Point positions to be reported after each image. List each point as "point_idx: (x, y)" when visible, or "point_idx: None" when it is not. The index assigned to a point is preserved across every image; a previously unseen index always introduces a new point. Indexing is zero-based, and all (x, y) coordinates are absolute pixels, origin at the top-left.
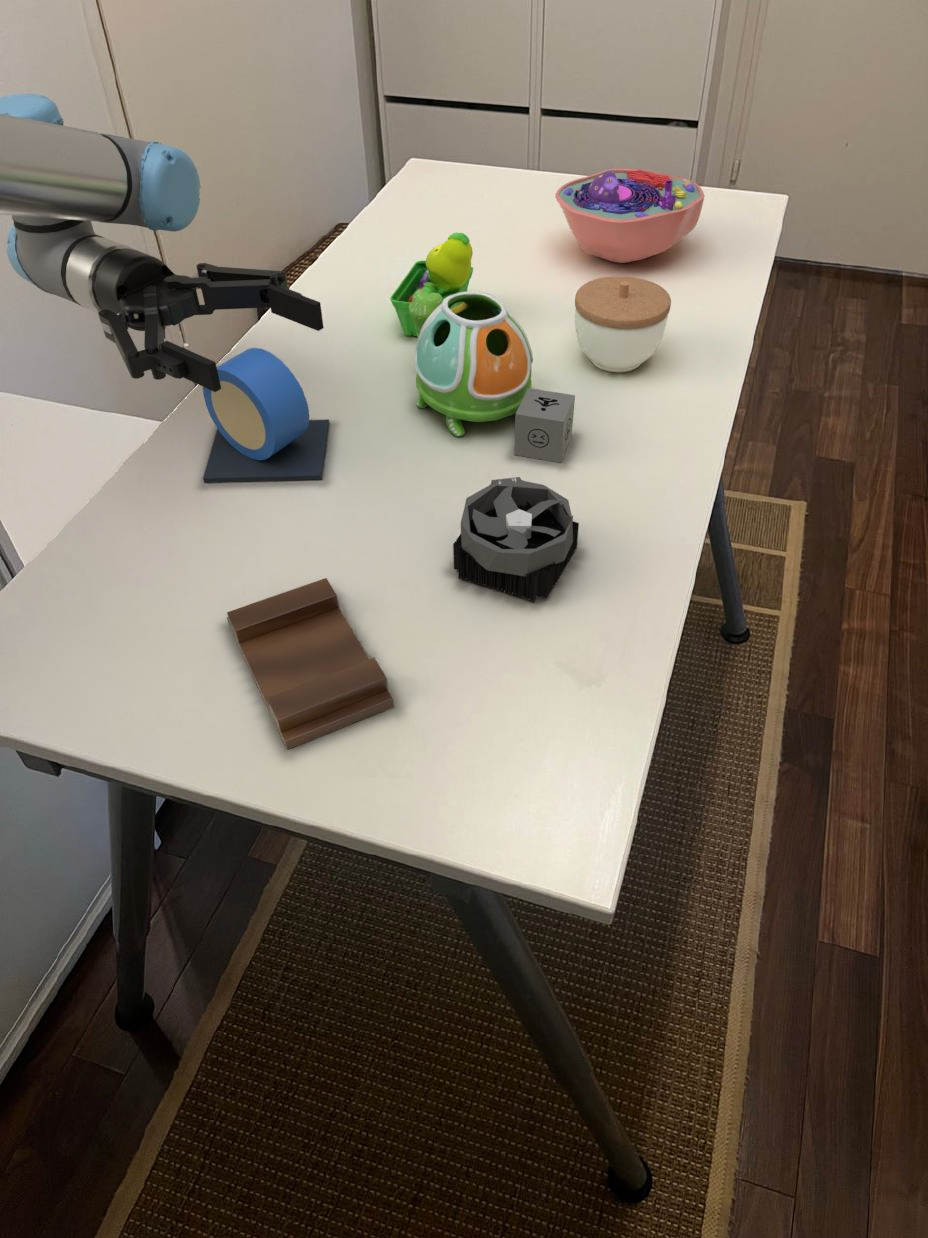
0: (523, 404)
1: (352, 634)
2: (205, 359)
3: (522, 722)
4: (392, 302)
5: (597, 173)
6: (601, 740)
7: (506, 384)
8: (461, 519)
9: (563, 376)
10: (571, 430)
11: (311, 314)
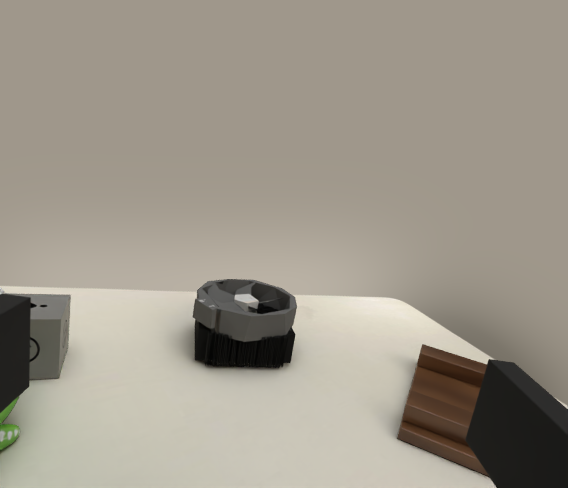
0: (32, 317)
1: (413, 387)
2: (517, 380)
3: (359, 322)
4: None
5: None
6: (336, 303)
7: None
8: (280, 314)
9: None
10: None
11: (14, 348)
